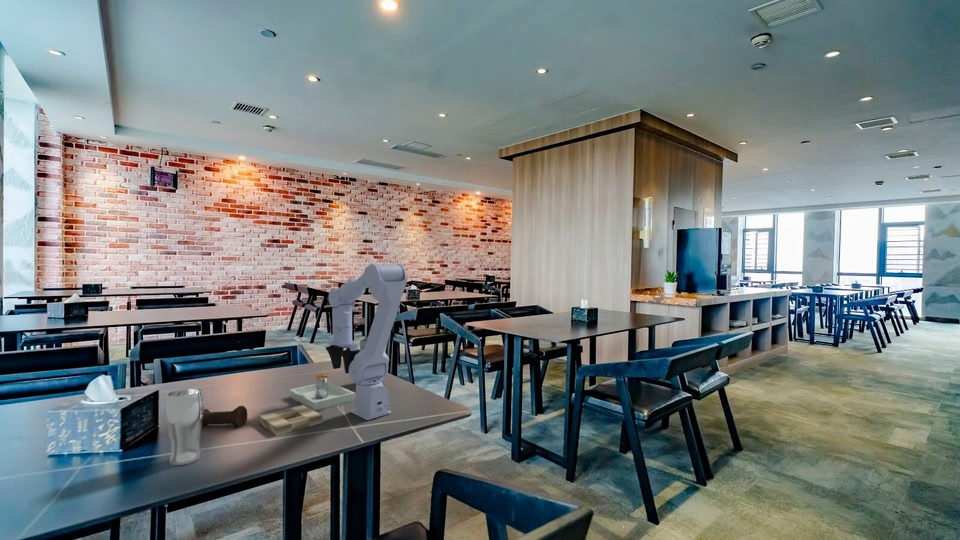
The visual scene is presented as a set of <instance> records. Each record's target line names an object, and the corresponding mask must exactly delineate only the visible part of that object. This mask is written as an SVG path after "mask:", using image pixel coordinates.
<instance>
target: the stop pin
mask: <svg viewBox="0 0 960 540" xmlns="http://www.w3.org/2000/svg"><path fill="white" fill-rule="evenodd" d="M314 377H315V378H314V384H315V398H316V399H324V398H327V397H328V389H327V381H328V373H318V374H315V375H314Z"/></svg>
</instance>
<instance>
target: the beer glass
mask: <svg viewBox="0 0 960 540" xmlns="http://www.w3.org/2000/svg"><path fill="white" fill-rule="evenodd" d="M204 409H205V405H204V395H203V388H201V387H185V388H180V389H174V390H172V391H169V392H167V394H166V400H165V421H166V427H167V431H168V436H169V440H170V447H171V448H170V456H169V461H168V462H169V464H170V465H171V466H179V467H180V466H185V465H189V464H193V463H195V462H198V461H200V459H202V457H203V450H202V447H201V433H202V429H203V428H202V423H203V416H204Z"/></svg>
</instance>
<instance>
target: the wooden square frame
mask: <svg viewBox="0 0 960 540" xmlns="http://www.w3.org/2000/svg"><path fill="white" fill-rule="evenodd" d="M323 419H324V418H323V415H322V414H320V413H319V412H317V411H314V410H312V409H310V408H308V407H306V406H304V405H302V404H301V405H297V406H293V407H290V408H285V409H281V410H276V411H274V412H273V411H271V412H268V413H265V414H260V415H258V421H259V422H258V424H260V425H261V426H263V427H264V428H265V429H267V430H268V431H270V432H271V433H272V434H274V435H275V436H280V435H284V434H287V433H291V432H296V431H298V429H299V430H301V429H306V428H308V427H312V426H316V425H320V424H323V423H324V422H323Z"/></svg>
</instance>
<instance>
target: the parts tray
mask: <svg viewBox="0 0 960 540" xmlns="http://www.w3.org/2000/svg"><path fill="white" fill-rule="evenodd" d="M327 389H328V397H327V398H324V399H316V398H315V383H314V384H310V385H309V384H308V385H305V386H301V387H300V386H299V387H295V388H291V389H288V390H289V391H288V393H289V394H288V397H290V398H289V399H291V400H292V401H295V402H297V403H299V404H300V403H301V405H304V406H306V407H308V408H310V409H312V410H314V411H315V412H317V411H321V410H325V409H329V408H333V407H336V406H340V405H345V404H348V403H352V402H356V391H355V392H354V391H353V390H352V391H351V390H350V389H347V388H344V387H343V386H339V385H338V384H336V383H333V382H330V381H328V380H327Z"/></svg>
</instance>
